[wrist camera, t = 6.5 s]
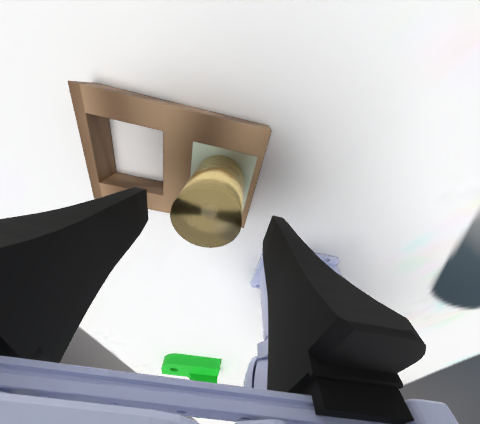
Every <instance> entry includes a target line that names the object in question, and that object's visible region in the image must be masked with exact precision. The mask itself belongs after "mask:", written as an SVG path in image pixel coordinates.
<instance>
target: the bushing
mask: <svg viewBox="0 0 480 424" xmlns="http://www.w3.org/2000/svg"><path fill="white" fill-rule="evenodd" d="M243 195H244V173H243V170H242V168H241V167H240V165H239V164H238V163H237V162H236V161H235V160H233V159H232V158H230V157H227V156H223V155H214V156H210V157H208V158H206V159H205V160H203V161H202V162H201V163H200V165H199V166H198V168H197V169H196V171H195V172H194V174H193V175H192V177H191V178H190V179H189V181H188V182H187V184H186V185H185V187H184V188H183V190H182V191H181V192H180V194H179V195H178V197H177V198H176V200H175V201H174V203H173V205H172V207H171V212H170V217H171V222H172V225H173V227H174V228H175V230H176V231H177V233H178V234H179V235H180V236H181V237H182V238H184V239H185V240H187V241H188V242H190V243H192V244H194V245H197V246H201V247H209V248H212V247H220V246H223V245H226V244H228V243H230V242H231V241H233V240H234V239H235V238H236V237H237V235H238V234H239V232H240V229H241V225H242V211H243Z"/></svg>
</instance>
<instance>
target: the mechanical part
mask: <svg viewBox="0 0 480 424" xmlns="http://www.w3.org/2000/svg"><path fill="white" fill-rule="evenodd" d="M220 362H221V359H216V358H208V357H200V356H192V355H184V354H169V355H166V356H165V359H164V362H163V365H162V374H170V375H178V376H187V377H189V378H190V380H194V381H202V382H209V383H217V376H218V373H219V370H220ZM197 418H199V417H197Z"/></svg>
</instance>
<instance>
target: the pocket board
mask: <svg viewBox="0 0 480 424" xmlns="http://www.w3.org/2000/svg"><path fill="white" fill-rule="evenodd" d="M68 85H69V89H70V94H71V98H72V103H73V107H74V111H75V116H76V120H77V125H78V129H79V133H80V138H81V142H82V147H83V151H84V156H85V160H86V164H87V169H88V173H89V178H90V182H91V187H92V191H93V195H94V198H95V199H98V198H101V197H104V196H107V195H110V194H113V193H116V192H120V191H123V190H126V189H130V188H134V187H137V188H141V189H146V190H147V206H148V209H151V210H156V211H161V212H166V213H170V212H171V207H172V205H173V203H174V201H175V200H176V198H177V197H178V195H179V194H180V192H181V191H182V190H183V188H184V187H185V185H186V184H187V182H188V181H189V179H190V178H191V177H192V175H193V174H194V172H195V171H196V169H197V168H198V166H199V165H200V163H201V162H202V161H203V160H205V159H206V158H208V157H210V156H214V155H223V156H227V157H230V158H232V159H233V160H235V161H236V162H237V163H238V164H239V165H240V167H241V168H242V170H243V173H244V195H243V211H242V225H241V227H242V228H244V225H245V222H246V218H247V215H248V211H249V208H250V204H251V201H252V197H253V194H254V190H255V187H256V183H257V180H258V176H259V173H260V169H261V166H262V162H263V159H264V155H265V152H266V148H267V145H268V141H269V138H270V134H271V129H270V127H269V126H267V125H263V124H259V123H255V122H251V121H247V120H243V119H239V118H235V117H231V116H227V115H223V114H219V113H215V112H211V111H206V110H202V109H198V108H194V107H190V106H186V105H182V104H178V103H174V102H170V101H166V100H162V99H158V98H154V97H150V96H146V95H142V94H138V93H133V92H129V91H125V90H121V89H117V88H113V87H109V86H105V85H101V84H97V83H91V82H77V81H68ZM109 118H110V119H114V120H119V121H123V122H127V123H131V124H136V125H140V126H144V127H149V128H153V129H157V130H162V131H163V182H159V181H155V180H150V179H145V178H140V177H136V176H131V175H126V174H121V173H117V172H116V167H115V160H114V153H113V146H112V138H111V131H110V124H109Z"/></svg>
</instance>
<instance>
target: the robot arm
mask: <svg viewBox="0 0 480 424" xmlns="http://www.w3.org/2000/svg"><path fill="white" fill-rule="evenodd" d="M147 221H148V206H147V190H146V189H141V188H137V187H134V188H130V189H126V190H123V191H120V192H116V193H113V194H110V195H107V196H104V197H101V198H98V199H94V200H91V201H87V202H84V203H80V204H77V205H73V206H69V207H65V208H61V209H56V210H51V211H47V212H42V213H36V214H30V215H24V216H18V217H12V218H5V219H0V424H198V423H197V421H194V420H192V419H189V418H187V417H184V416H190V417H199V418H207V419H216V420H225V421H234V422H236V423H235V424H459V423H458V422H457V421H456V419H455V417H454V416H453V414H452V413H451V411H450V409H449V408H448V406H447V405H446V404H444V403H442V402H435V401H428V400H420V399H406V400H404V399H403V397H402V395H401V393H400V391H399V389H398V388H402V387H403V383H402V381H401V379H400V378H399V376H398V374H397V373H398V372H400V371H402V370H404V369H405V368H407V367H409V366H410V365H412V364H414V363H416V362H417V361H418V360H420V359H421V358H422V357H423V355H424V354H425V351H426V345H425V344H424V342H423V341H422V339H421V338H420V336H419V335H418V333H417V332H416V331H415V329H414V328H413V326H412V325H411V323H410V322H409V320H408V319H407V318H405V317H403V316H402V315H400V314H398V313H397V312H395V311H393V310H392V309H390V308H388V307H386V306H385V305H383V304H381V303H380V302H378V301H376V300H375V299H373V298H372V297H370V296H369V295H367V294H366V293H364V292H363V291H361V290H360V289H358V288H357V287H355V286H354V285H352V284H351V283H350V282H348V281H347V280H346V279H344V278H343V277H342V276H341V274H340V272H339V270H338V268H337V264H338V263H339V259H338V258H337V257H333V256H328V255H323V254H318V253H314V252H313V251H312V250H311V249H310V248H309V247H308V246H307V245H306V244H305V243H304V242H303V240H302V239H301V238H300V237H299V236H298V235H297V234H296V232H295V231H294V230H293V229H292V228H291V226H290V225H289V224H288V223H287V222H286V221H285V220H284V219H283V218H282V217H277V216H272V219H271V221H270V224H269V227H268V229H267V232H266V235H265V237H264V240H263V253H262V255H261V258H260V260H259V263H258V266H257V268H256V271H255V273H254V276H253V278H252V281H251V286H252V287H254V288H260V290H261V305H262V321H263V337H264V341H263V342H261V343H258V344H257V349H258V356H255V357H254V358H252V360H251V361H250V363H249V366H248V369H247V372H246V375H245V380H244V387H241V386H233V385H225V384H217V383H209V382H202V381H194V380H186V379H178V378H171V377H163V376H155V375H147V374H140V373H132V372H124V371H116V370H108V369H100V368H93V367H85V366H77V365H69V364H62V363H60V361H61V359H62V357H63V355H64V353H65V351H66V349H67V347H68V345H69V343H70V341H71V339H72V337H73V335H74V333H75V332H76V330H77V328H78V326H79V324H80V323H81V321H82V319H83V317H84V315H85V314H86V312H87V310H88V308H89V306H90V305H91V303H92V301H93V300H94V298H95V296H96V295H97V293H98V291H99V290H100V288H101V286H102V285H103V283H104V282H105V280H106V279H107V277H108V275H109V274H110V272H111V271H112V270H113V268H114V267H115V265H116V264H117V263H118V262H119V260H120V259H121V258H122V256H123V255H124V254H125V253H126V251H127V250H128V249H129V248H130V246H131V245H132V244H133V243H134V241H135V240H136V239H137V237H138V236H139V235H140V233H141V232H142V230H143V228H144V226H145V225H146V223H147ZM326 259H327V260H326Z"/></svg>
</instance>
